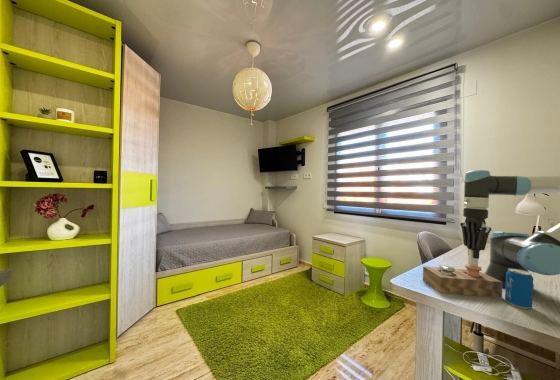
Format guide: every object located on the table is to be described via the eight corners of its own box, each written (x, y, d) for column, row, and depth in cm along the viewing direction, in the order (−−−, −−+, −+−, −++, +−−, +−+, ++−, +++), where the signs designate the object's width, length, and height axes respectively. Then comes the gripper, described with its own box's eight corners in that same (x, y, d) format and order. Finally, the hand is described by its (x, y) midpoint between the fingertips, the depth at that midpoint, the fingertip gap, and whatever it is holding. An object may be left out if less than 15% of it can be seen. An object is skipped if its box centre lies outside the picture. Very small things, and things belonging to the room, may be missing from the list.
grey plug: (448, 282, 91) (449, 265, 91) (457, 288, 86) (457, 269, 86) (436, 281, 92) (436, 264, 92) (443, 286, 87) (444, 268, 87)
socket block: (476, 284, 93) (476, 270, 93) (501, 297, 81) (502, 282, 81) (422, 279, 95) (423, 266, 95) (440, 292, 83) (440, 277, 83)
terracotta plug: (474, 281, 90) (474, 264, 90) (484, 287, 85) (485, 268, 85) (461, 280, 91) (462, 263, 91) (470, 285, 86) (471, 267, 86)
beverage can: (499, 299, 80) (501, 267, 80) (517, 300, 79) (518, 268, 79) (518, 309, 73) (519, 274, 73) (538, 310, 73) (539, 275, 73)
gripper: (454, 206, 95) (452, 259, 95) (478, 208, 82) (476, 270, 82) (472, 207, 94) (470, 261, 94) (500, 210, 81) (497, 272, 81)
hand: (473, 265), depth 88 cm, fingers closed
